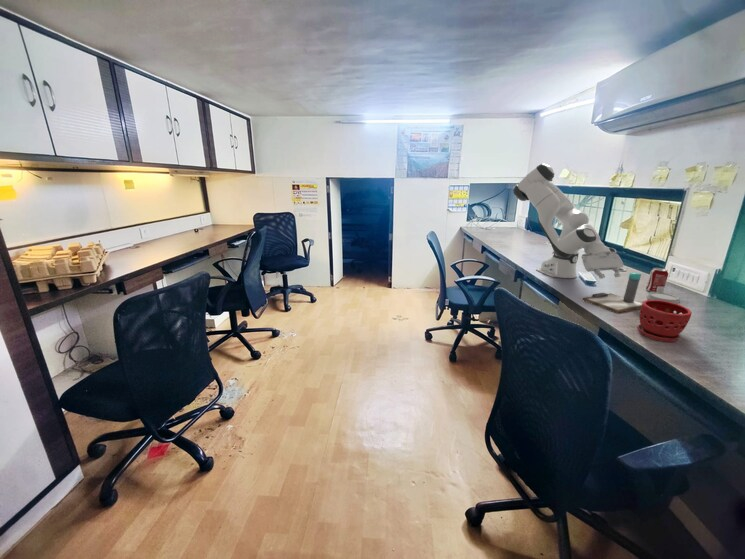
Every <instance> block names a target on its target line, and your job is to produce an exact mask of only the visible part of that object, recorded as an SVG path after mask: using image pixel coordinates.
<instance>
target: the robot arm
mask: <svg viewBox="0 0 745 559" xmlns="http://www.w3.org/2000/svg"><path fill="white" fill-rule="evenodd" d="M554 177H555V172H554V169H553V167H551V166H550V165H549V164H546V163H541V164H539V165H536V167H535V168H534V169H533V170H531V171H530V172H528V173H527V175H526V176H524V178H522V180H521V181H520V182H518V184H516V185H515V186H514V188H513V190H512V191H513V192H512V193H513V194H514V197H515V198H516V199H518V200H519V201H521V202H526V201H529V202H530V204H531V205H532V206H533V207H534V208H535V210H536V211H537V215H538V218H537V220H538V221H537V222H538V224H539V226H540V229H541V230H542V231H543V233H544V235H545V237H546V239H547V240H548V242H549V244H550V245H551V247H552V250H553V251H552V252H551V254H553V255H552V256H551V257H549V258H547V259H545V260H543V261H542V263H541V265H540V267H537V268H536V271H537V272H539V273H541V274H543V275H547V276H549V277H552V278H554V277H555V278H561V279H562V278H563V279H575V278H577V277H578V276H577V263H578V259H579V254H580V253H579V250H581V249H583V252H584V253H583V254H581V260H582V264H583V266H584V269H585V270H586V271H587V272H594V274H595V275H597V276H598V277H599V279H600V280H601V279H602V280H603V279H604V278H606V276H605V274H604V273H602V272H601V271H613V272H614V274H613V275H614V278H620V277H621V276H622V275H621V274H620V269H621V268H623V267H624V262H623V260H622V259H621V256H620V255H619V254H618V253H617V250H616V249H615V248H613V247H608V246H607V245H605V243H604V242H602V240H601V236H600V235H599V233H598V232H597V230H596V229H595V228H594V227H593V226H592V225H591V224H589V217H588V215H587V214H586V212H584V211H582V210H579V209H578V208H577V207H576V206H575V205H574V204H573V202H571V200H570V198H569V197H568V196H567V195H566V194H565V193H564V192H563V191H562V190H561V188H559V187H558V186H557V185H556V184H554V183H553V182H552V181H553V179H554ZM555 219H556V220H557V221H558V222H559V223H560V224H561V226H562V229H561V232H560V235H559V234H558V232H557V230H556V229H555V227H554V225H553V222H554V220H555Z"/></svg>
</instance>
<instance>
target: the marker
mask: <svg viewBox="0 0 745 559" xmlns="http://www.w3.org/2000/svg"><path fill="white" fill-rule="evenodd" d="M641 278H642V274H641V273H640V272H635V271H634V272H629V275H628V281H627V284H626V288H625V291H624V295H623V297H624V299H623V301H624V302H627V303H634V301H635V298H636V294H637V292H638V287H639V283H640V280H641Z"/></svg>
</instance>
